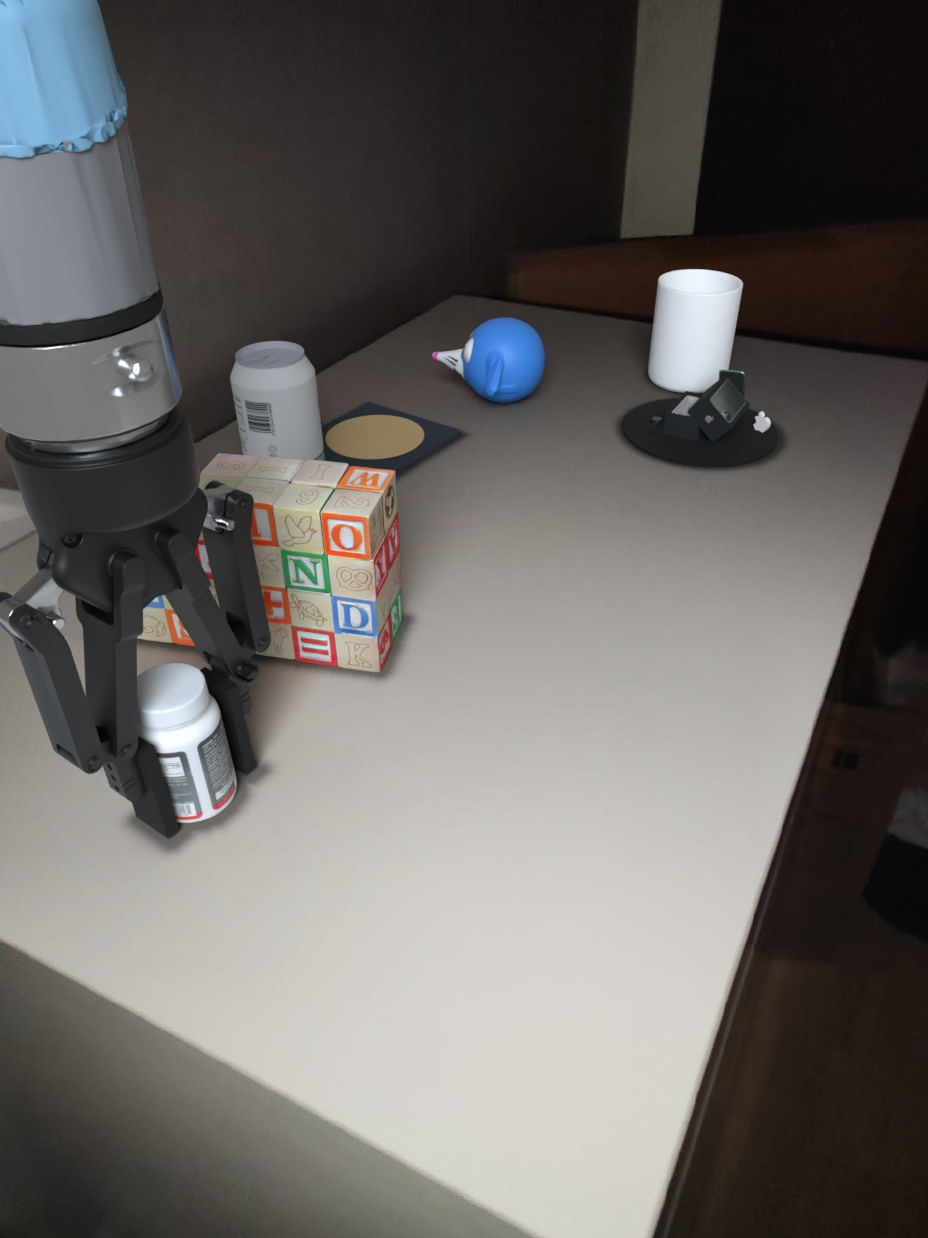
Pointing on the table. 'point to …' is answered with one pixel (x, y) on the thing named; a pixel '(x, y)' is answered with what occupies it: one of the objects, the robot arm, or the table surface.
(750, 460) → the apple device display stand
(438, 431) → the mat
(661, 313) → the mug
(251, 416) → the beverage can
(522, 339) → the blue mole toy
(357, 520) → the stack of blocks
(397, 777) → the table surface
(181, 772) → the pill bottle
